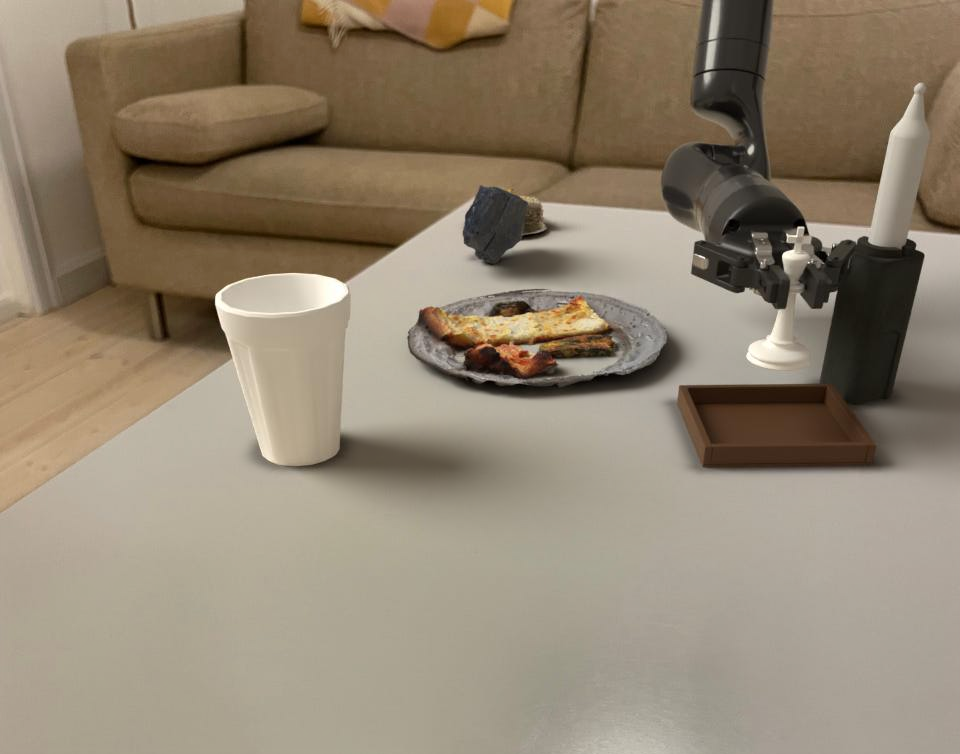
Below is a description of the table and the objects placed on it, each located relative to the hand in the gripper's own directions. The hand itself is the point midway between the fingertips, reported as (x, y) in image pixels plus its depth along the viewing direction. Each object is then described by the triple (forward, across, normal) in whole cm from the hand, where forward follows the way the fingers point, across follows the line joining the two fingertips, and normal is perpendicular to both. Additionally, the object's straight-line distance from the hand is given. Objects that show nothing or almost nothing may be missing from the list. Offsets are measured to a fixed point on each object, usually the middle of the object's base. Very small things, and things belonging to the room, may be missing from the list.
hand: (802, 295), depth 76 cm
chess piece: (-3, 0, +6) cm, 7 cm away
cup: (-1, -38, +13) cm, 40 cm away
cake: (-68, -19, +14) cm, 72 cm away
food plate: (-23, -18, +13) cm, 32 cm away
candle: (-11, +10, +13) cm, 20 cm away
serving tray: (-3, 0, +13) cm, 13 cm away
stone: (-53, -21, +14) cm, 58 cm away
